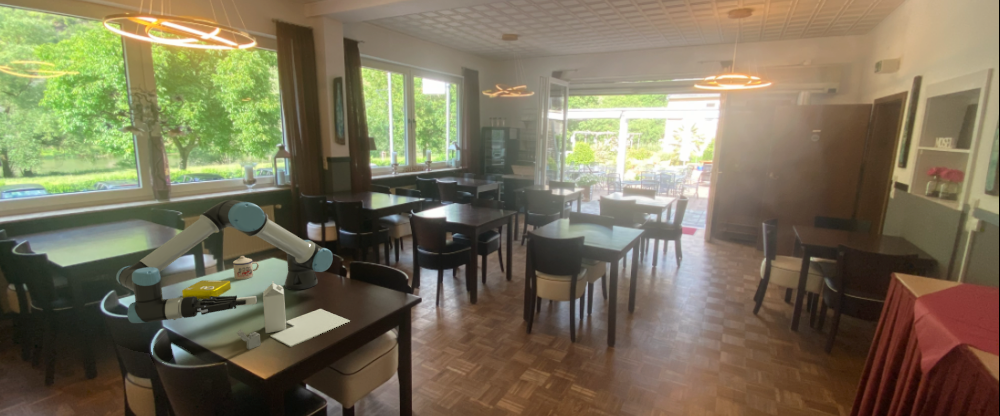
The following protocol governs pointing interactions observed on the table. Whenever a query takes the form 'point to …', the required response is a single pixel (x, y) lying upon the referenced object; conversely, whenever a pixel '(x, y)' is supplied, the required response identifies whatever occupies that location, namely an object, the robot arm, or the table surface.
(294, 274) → the robot arm
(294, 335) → the mat
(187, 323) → the table surface
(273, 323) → the milk carton
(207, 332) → the table surface
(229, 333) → the table surface
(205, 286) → the element tile
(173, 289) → the table surface
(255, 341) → the lighter
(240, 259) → the teacup with lid
